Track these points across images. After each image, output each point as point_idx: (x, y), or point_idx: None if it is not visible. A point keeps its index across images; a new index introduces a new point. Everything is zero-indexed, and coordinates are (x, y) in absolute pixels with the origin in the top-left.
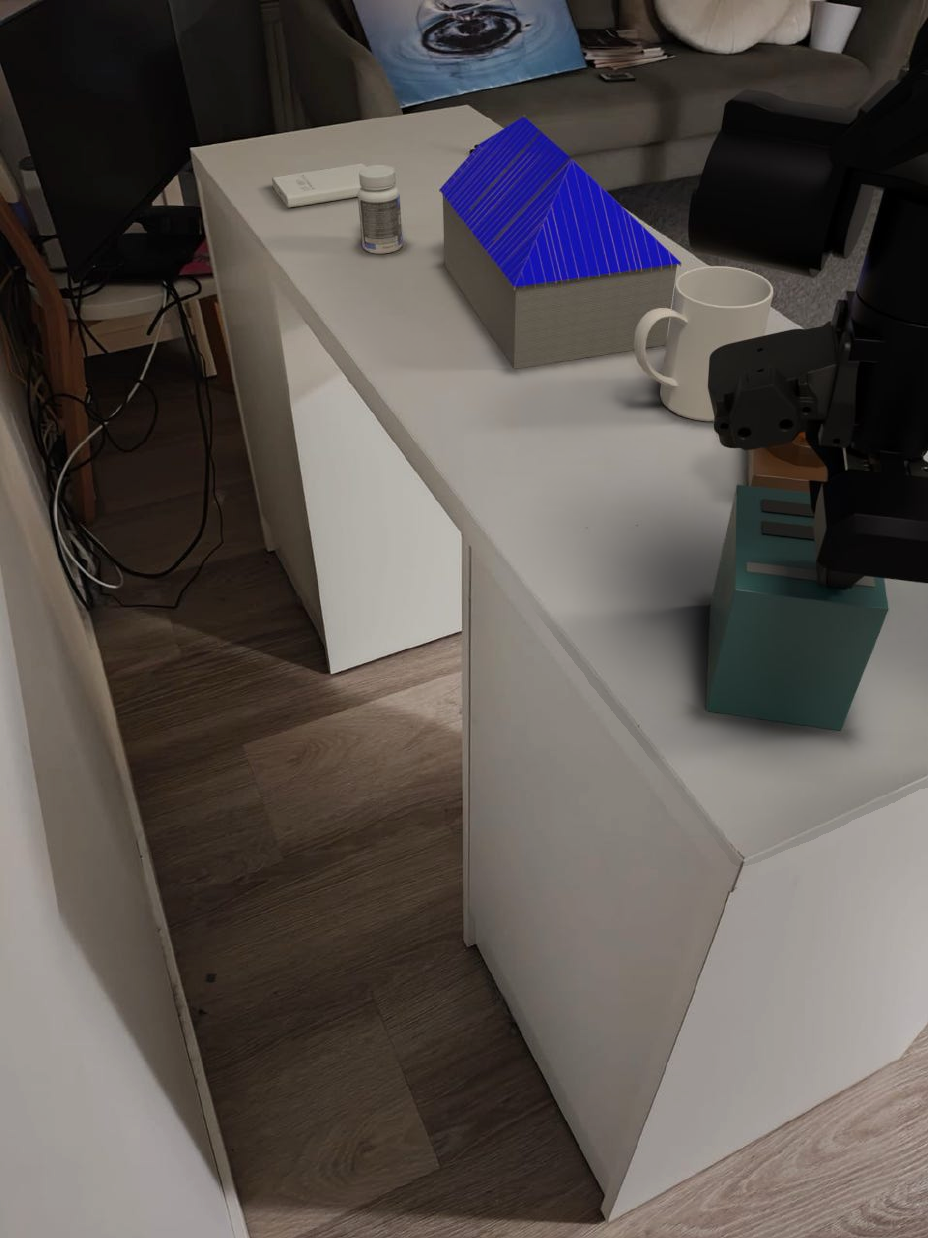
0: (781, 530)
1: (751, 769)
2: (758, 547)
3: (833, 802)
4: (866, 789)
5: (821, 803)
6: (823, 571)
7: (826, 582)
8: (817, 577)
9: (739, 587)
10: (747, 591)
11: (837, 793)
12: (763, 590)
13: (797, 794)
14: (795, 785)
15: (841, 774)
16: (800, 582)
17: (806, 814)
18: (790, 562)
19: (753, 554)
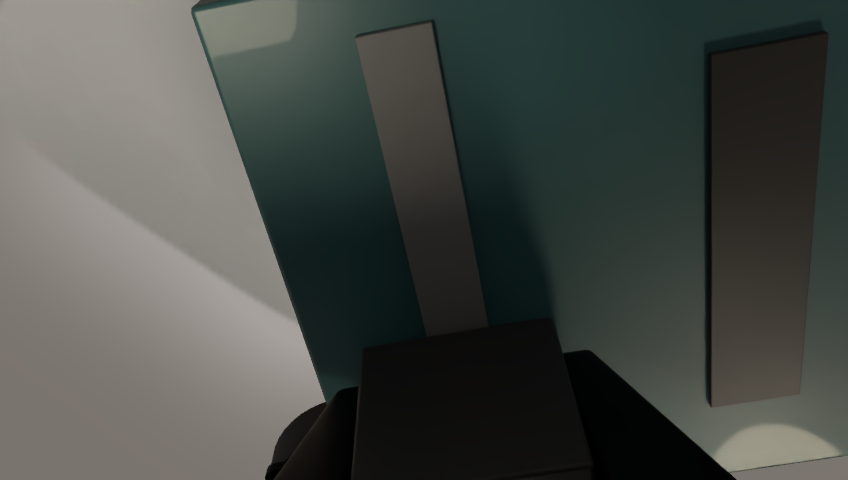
0: (754, 139)
1: (178, 61)
2: (584, 55)
3: (186, 230)
4: (253, 279)
5: (170, 210)
6: (359, 405)
7: (329, 403)
8: (397, 347)
9: (219, 26)
10: (213, 70)
11: (213, 234)
12: (257, 140)
13: (166, 165)
14: (188, 157)
15: (267, 234)
16: (386, 272)
17: (125, 189)
18: (510, 215)
19: (518, 41)
